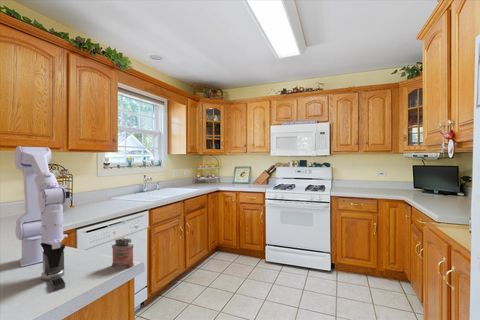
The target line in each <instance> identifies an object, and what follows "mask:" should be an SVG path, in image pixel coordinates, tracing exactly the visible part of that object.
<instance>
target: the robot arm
mask: <svg viewBox="0 0 480 320" xmlns="http://www.w3.org/2000/svg"><path fill="white" fill-rule="evenodd" d="M51 159H52V151H51V148H49V147H48V146H46V147H42V146H41V147H39V146H21V145H17V147H16V148H15V150H14V163H15V167H16V169H17V170H20V171H21V172H22V177H23V192H24V209H25V213H24V214H22V215H20V216H19V217H18V218H17V220H16V222H15V237H16V239H17V240H18V241H21V258H19V264H20V267H21V268H23V267H27V266H31V265H35V264H39V263H43V251H44V252H45V253H46V255H47V258H48V262H49V266H50V269H52V268H56V267H58V266H59V263H60V258H61V255H62V252H63V251H65V248H66V244H61V243H62V241H63V240H64V239H65V238H68V234H65V233H64V212H63V204H64V203H65V200H66V193H65V192H66V190H65V188H64V187H63V186H62V185H59V183H58V180H57V178H56V176H55V175H56V174H54V173H52V172H50V168H49V163H50V161H52V160H51Z"/></svg>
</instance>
